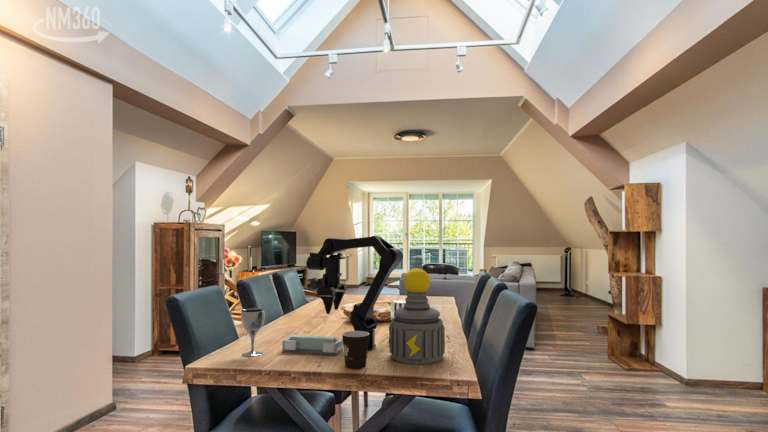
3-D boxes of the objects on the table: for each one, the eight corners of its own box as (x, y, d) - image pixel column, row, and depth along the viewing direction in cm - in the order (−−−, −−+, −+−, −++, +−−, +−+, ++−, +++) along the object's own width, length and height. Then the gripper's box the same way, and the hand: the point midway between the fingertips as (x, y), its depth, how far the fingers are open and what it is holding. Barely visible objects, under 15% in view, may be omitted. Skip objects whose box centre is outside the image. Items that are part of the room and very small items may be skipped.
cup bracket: (342, 350, 151) (342, 339, 151) (336, 355, 144) (336, 343, 144) (290, 347, 155) (290, 336, 155) (282, 352, 148) (282, 340, 148)
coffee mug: (370, 369, 129) (371, 336, 129) (342, 370, 127) (343, 337, 128) (366, 359, 140) (366, 328, 141) (340, 360, 139) (340, 329, 139)
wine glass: (269, 352, 147) (269, 309, 148) (253, 358, 140) (254, 312, 141) (251, 350, 151) (252, 307, 152) (235, 355, 144) (236, 311, 144)
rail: (335, 348, 149) (335, 337, 149) (332, 350, 146) (332, 339, 147) (293, 346, 153) (293, 334, 153) (289, 348, 150) (290, 336, 150)
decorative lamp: (443, 367, 132) (443, 270, 133) (384, 363, 135) (384, 269, 137) (445, 351, 150) (445, 266, 152) (393, 348, 154) (393, 266, 155)
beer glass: (408, 341, 164) (408, 302, 165) (390, 341, 164) (390, 302, 165) (407, 337, 171) (407, 300, 172) (390, 337, 171) (390, 300, 172)
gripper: (321, 268, 173) (320, 307, 172) (303, 272, 155) (302, 315, 154) (347, 269, 171) (347, 308, 170) (332, 272, 152) (331, 316, 151)
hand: (332, 311), depth 161 cm, fingers open, 9 cm apart
